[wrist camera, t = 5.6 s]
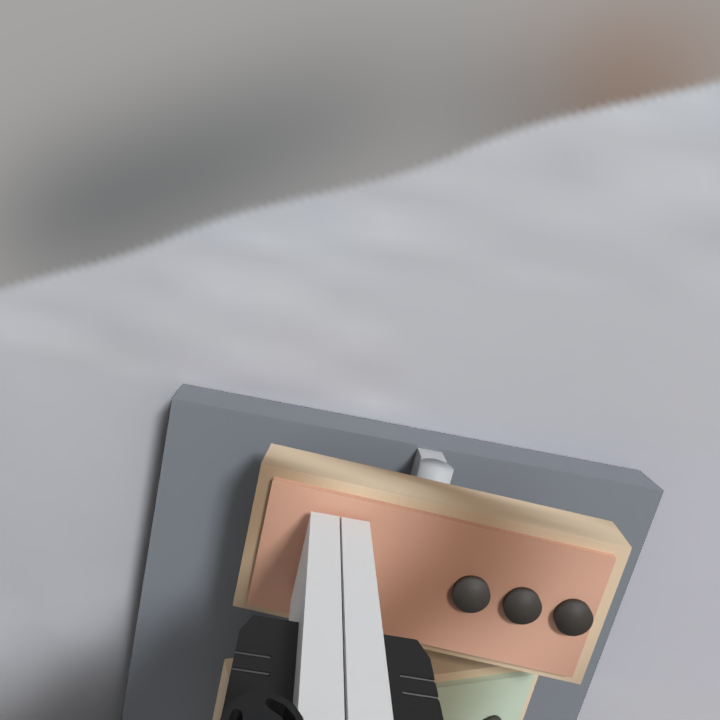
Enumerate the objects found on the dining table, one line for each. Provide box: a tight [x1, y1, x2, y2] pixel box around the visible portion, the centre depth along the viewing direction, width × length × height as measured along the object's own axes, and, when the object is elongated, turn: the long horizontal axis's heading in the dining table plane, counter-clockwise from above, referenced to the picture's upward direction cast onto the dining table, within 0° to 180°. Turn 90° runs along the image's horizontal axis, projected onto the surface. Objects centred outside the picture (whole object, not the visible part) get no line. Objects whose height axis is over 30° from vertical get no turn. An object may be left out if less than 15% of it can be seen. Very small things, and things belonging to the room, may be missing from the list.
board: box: [122, 384, 664, 720], centre depth 21 cm, size 16×16×3 cm
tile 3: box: [233, 443, 632, 685], centre depth 17 cm, size 10×4×2 cm, turn 77°
